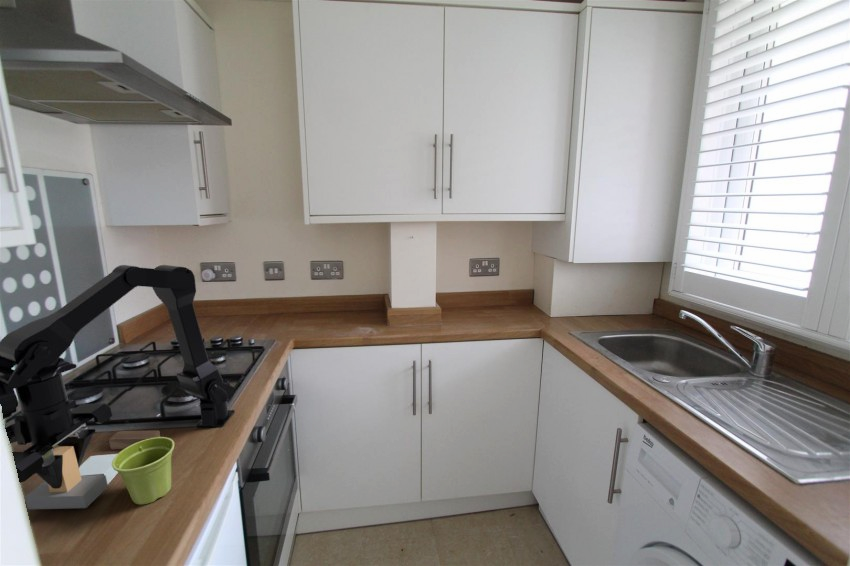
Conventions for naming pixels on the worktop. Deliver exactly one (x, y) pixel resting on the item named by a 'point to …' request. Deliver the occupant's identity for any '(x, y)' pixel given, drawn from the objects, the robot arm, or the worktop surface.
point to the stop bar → (130, 438)
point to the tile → (99, 466)
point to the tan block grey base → (67, 486)
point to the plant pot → (146, 468)
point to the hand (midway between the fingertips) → (65, 480)
